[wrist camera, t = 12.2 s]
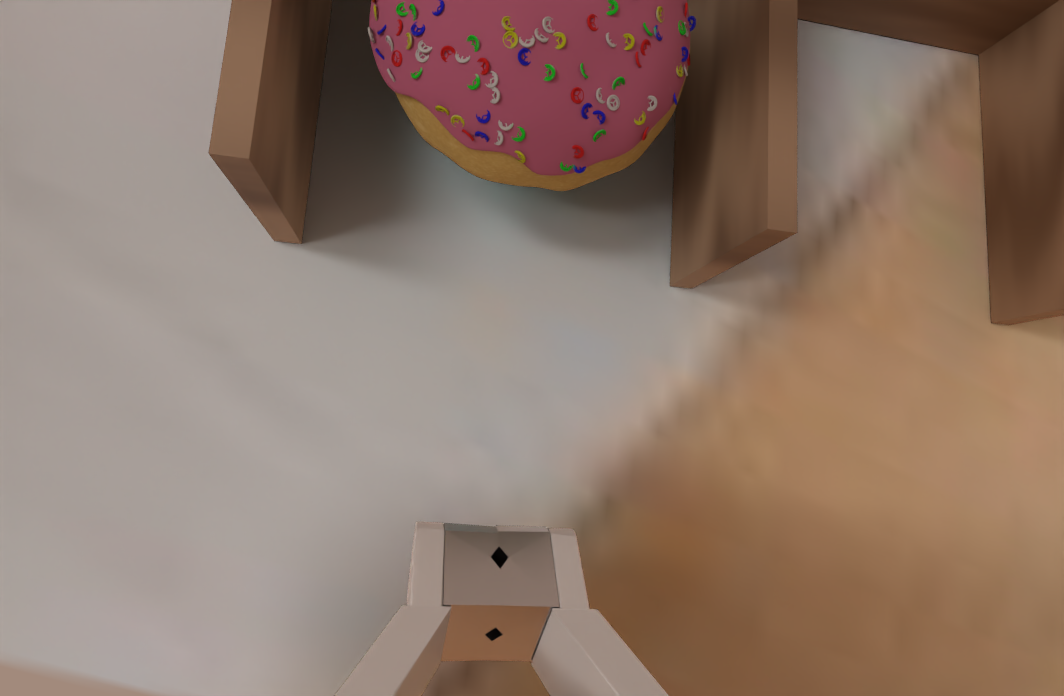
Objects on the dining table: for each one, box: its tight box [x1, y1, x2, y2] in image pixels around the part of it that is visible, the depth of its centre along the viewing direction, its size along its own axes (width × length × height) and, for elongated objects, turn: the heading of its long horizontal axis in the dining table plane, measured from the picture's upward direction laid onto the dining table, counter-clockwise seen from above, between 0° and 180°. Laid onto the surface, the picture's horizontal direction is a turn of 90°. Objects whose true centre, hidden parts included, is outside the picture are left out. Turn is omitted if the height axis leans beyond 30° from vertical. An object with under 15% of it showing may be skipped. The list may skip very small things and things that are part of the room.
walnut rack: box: [209, 0, 1064, 325], centre depth 16 cm, size 12×26×11 cm, turn 86°
